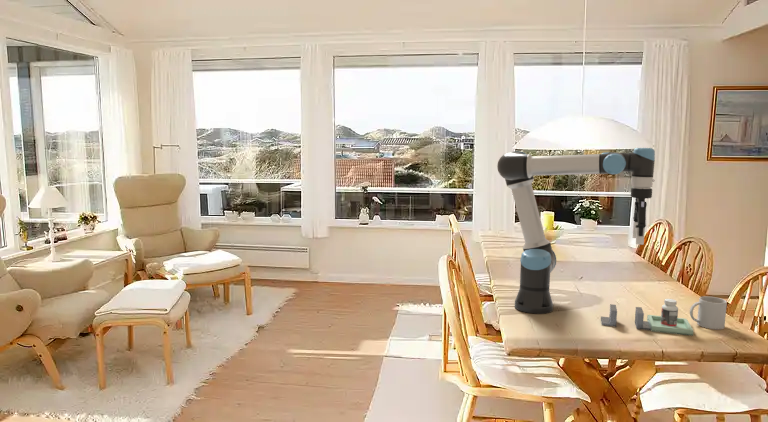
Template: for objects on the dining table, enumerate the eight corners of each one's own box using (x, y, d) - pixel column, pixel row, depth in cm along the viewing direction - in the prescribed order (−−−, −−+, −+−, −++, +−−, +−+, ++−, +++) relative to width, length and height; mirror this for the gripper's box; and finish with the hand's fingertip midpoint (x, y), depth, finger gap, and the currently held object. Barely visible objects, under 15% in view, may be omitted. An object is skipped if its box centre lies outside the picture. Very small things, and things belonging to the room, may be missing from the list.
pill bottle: (657, 323, 208) (659, 298, 206) (670, 323, 208) (673, 297, 207) (666, 328, 202) (668, 302, 201) (679, 328, 203) (682, 302, 202)
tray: (651, 331, 201) (651, 325, 201) (647, 319, 214) (647, 314, 213) (693, 335, 197) (693, 330, 197) (686, 323, 209) (686, 318, 209)
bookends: (601, 325, 207) (602, 309, 206) (600, 318, 215) (601, 303, 214) (651, 330, 202) (653, 314, 201) (649, 323, 209) (650, 308, 208)
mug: (726, 325, 208) (729, 299, 207) (721, 331, 201) (723, 305, 200) (694, 318, 215) (696, 293, 214) (688, 324, 208) (690, 299, 207)
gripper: (656, 191, 204) (652, 247, 207) (648, 185, 227) (644, 236, 230) (634, 190, 206) (630, 246, 209) (628, 184, 230) (625, 235, 233)
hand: (637, 241), depth 220 cm, fingers open, 13 cm apart
